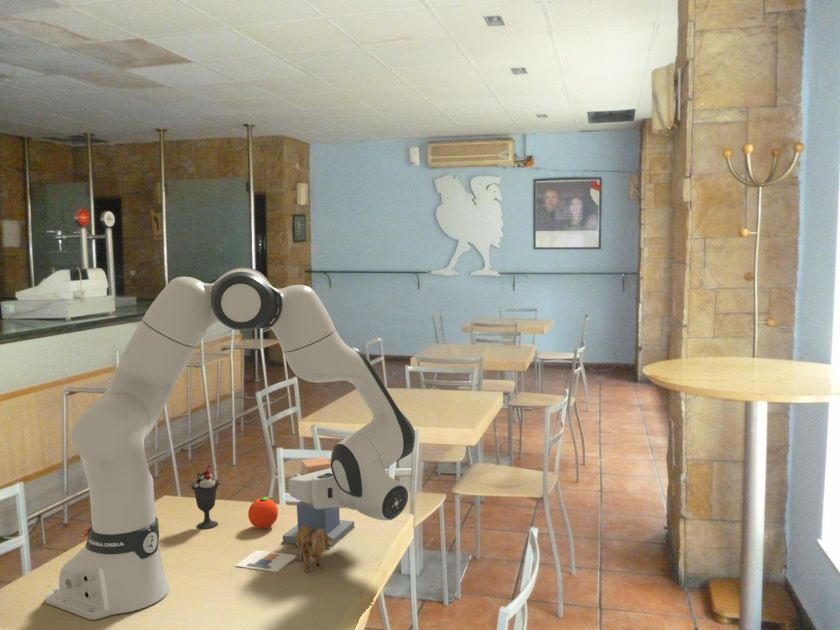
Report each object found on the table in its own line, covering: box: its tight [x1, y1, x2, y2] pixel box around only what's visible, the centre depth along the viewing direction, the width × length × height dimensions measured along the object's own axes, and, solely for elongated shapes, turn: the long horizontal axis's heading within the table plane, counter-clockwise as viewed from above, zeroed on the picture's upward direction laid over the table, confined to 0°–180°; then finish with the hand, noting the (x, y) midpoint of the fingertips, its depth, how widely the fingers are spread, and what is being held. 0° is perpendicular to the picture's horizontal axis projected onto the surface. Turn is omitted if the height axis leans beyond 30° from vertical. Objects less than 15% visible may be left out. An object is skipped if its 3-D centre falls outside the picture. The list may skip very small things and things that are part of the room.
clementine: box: [247, 496, 279, 529], centre depth 168 cm, size 8×7×7 cm
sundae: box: [190, 464, 221, 530], centre depth 170 cm, size 7×7×15 cm
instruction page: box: [235, 549, 297, 573], centre depth 149 cm, size 10×8×1 cm
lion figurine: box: [294, 526, 333, 573], centre depth 147 cm, size 15×5×9 cm, turn 33°
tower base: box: [282, 501, 355, 548], centre depth 162 cm, size 12×12×8 cm
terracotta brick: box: [300, 456, 331, 506], centre depth 162 cm, size 6×6×9 cm
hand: (315, 471), depth 162 cm, fingers open, 8 cm apart
